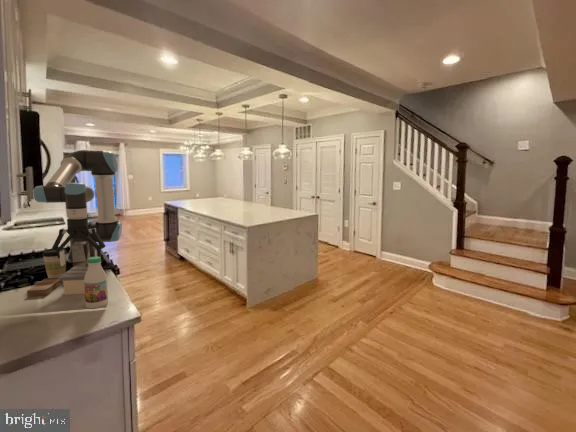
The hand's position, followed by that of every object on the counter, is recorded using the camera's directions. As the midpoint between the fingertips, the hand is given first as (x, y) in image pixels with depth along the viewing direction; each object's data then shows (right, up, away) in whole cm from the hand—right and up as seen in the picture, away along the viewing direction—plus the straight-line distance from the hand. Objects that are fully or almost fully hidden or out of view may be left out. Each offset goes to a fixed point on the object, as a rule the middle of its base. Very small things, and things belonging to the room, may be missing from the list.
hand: (80, 264), depth 136 cm
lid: (0, -5, +1) cm, 5 cm away
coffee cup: (-20, -10, +12) cm, 25 cm away
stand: (-14, -12, -2) cm, 18 cm away
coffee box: (-15, -8, +23) cm, 28 cm away
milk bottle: (+16, -15, -14) cm, 26 cm away
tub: (0, -12, +2) cm, 12 cm away
